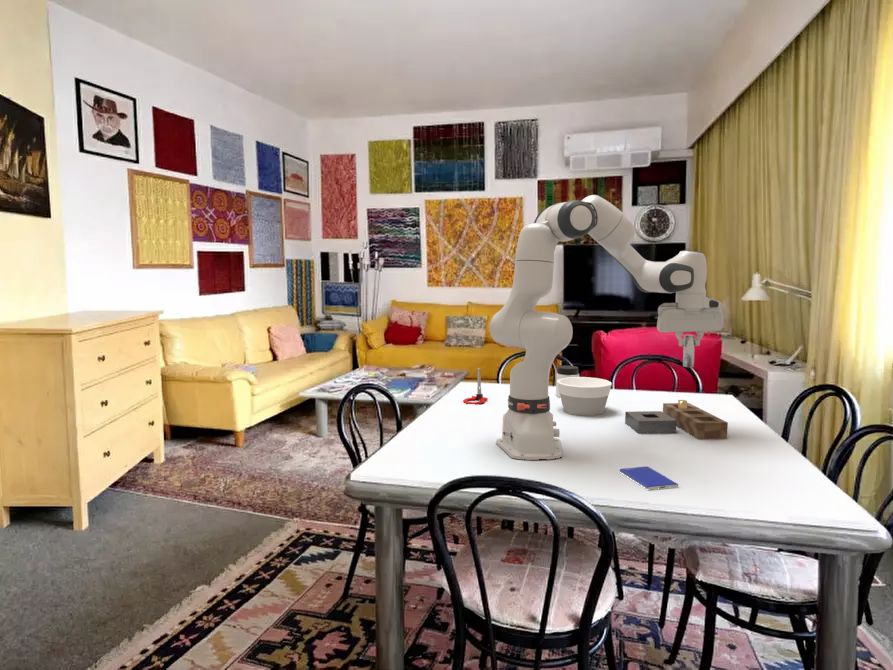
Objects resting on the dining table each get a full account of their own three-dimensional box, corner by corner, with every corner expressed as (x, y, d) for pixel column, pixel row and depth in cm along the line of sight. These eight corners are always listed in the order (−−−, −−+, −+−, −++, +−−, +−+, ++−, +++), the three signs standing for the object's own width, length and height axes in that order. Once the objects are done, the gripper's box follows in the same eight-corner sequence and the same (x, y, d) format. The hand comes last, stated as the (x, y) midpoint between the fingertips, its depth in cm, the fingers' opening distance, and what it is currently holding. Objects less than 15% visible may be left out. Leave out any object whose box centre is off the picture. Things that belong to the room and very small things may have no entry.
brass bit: (687, 422, 196) (688, 401, 196) (679, 422, 196) (680, 401, 196) (684, 420, 199) (684, 399, 198) (675, 420, 199) (676, 399, 198)
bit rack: (726, 438, 177) (727, 422, 177) (697, 439, 177) (698, 423, 176) (688, 417, 203) (688, 403, 202) (662, 417, 203) (663, 403, 202)
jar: (563, 393, 242) (563, 364, 241) (581, 396, 237) (582, 366, 236) (552, 397, 235) (553, 367, 234) (571, 399, 230) (572, 369, 229)
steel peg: (695, 367, 187) (696, 335, 185) (685, 367, 186) (686, 336, 185) (690, 365, 190) (691, 334, 188) (681, 365, 190) (682, 334, 188)
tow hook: (478, 407, 221) (490, 401, 229) (477, 373, 219) (489, 368, 227) (459, 404, 225) (471, 398, 233) (458, 371, 224) (470, 366, 231)
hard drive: (619, 468, 148) (647, 486, 136) (648, 466, 150) (678, 483, 138) (619, 474, 148) (647, 492, 136) (648, 472, 150) (678, 489, 138)
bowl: (582, 402, 226) (583, 375, 225) (622, 412, 210) (623, 383, 209) (545, 409, 215) (545, 380, 214) (584, 420, 199) (585, 389, 198)
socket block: (676, 433, 184) (676, 420, 183) (638, 433, 183) (638, 420, 183) (660, 423, 195) (661, 411, 195) (625, 423, 195) (625, 411, 195)
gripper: (662, 304, 182) (661, 348, 184) (726, 302, 183) (725, 346, 185) (654, 302, 188) (653, 345, 190) (716, 300, 189) (715, 343, 191)
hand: (689, 345), depth 187 cm, fingers closed on steel peg, 3 cm apart
